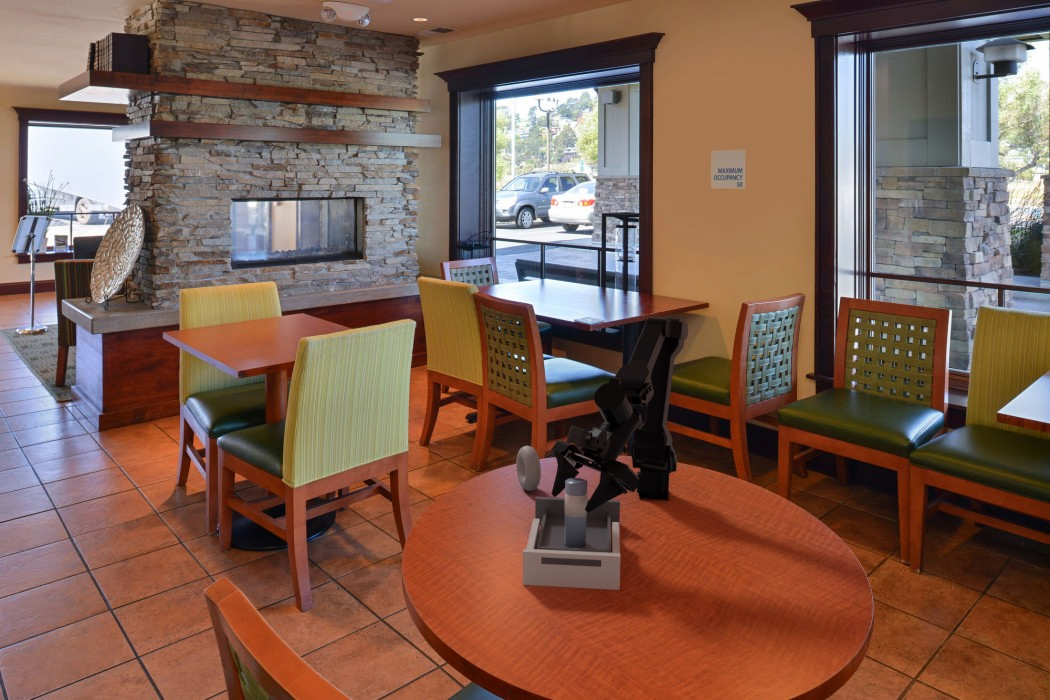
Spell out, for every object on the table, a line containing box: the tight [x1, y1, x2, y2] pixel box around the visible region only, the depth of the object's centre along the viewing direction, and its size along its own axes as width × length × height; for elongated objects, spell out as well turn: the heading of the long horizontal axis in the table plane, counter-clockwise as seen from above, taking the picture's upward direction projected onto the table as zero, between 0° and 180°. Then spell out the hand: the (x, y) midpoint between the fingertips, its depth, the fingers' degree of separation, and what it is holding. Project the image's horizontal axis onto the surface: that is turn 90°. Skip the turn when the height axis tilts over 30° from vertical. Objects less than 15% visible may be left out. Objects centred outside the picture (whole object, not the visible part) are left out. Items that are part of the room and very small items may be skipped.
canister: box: [564, 477, 588, 548], centre depth 145 cm, size 4×4×12 cm
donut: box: [515, 445, 542, 492], centre depth 175 cm, size 10×4×10 cm, turn 18°
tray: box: [534, 496, 621, 553], centre depth 149 cm, size 18×17×5 cm
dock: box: [522, 518, 621, 591], centre depth 141 cm, size 18×16×6 cm
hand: (569, 503), depth 143 cm, fingers open, 9 cm apart
